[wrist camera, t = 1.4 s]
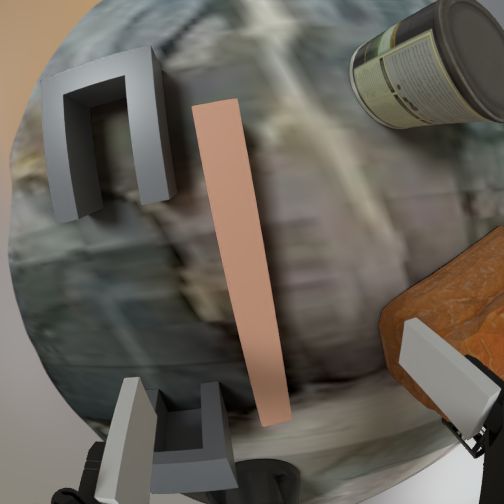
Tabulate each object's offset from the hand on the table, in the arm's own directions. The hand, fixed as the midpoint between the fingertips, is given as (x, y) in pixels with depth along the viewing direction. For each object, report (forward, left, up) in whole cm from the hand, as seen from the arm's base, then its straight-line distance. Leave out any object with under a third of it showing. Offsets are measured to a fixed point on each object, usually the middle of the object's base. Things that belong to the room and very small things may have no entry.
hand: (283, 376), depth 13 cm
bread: (-10, -28, -16) cm, 34 cm away
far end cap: (-16, +9, -16) cm, 24 cm away
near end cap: (+14, +9, -16) cm, 23 cm away
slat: (0, 0, -16) cm, 16 cm away
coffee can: (+17, -18, -16) cm, 29 cm away
